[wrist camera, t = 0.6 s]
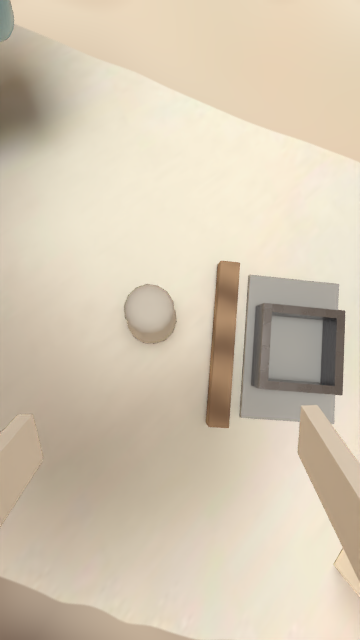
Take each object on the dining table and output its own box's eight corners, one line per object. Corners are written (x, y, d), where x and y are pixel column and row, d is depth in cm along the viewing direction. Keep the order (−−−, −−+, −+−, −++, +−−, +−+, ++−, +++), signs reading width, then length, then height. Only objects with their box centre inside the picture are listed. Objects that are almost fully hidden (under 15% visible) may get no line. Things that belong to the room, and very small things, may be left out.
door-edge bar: (217, 265, 38) (220, 260, 36) (235, 267, 38) (240, 262, 36) (205, 422, 36) (208, 426, 34) (224, 423, 36) (228, 428, 34)
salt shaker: (166, 291, 37) (171, 263, 24) (181, 334, 37) (194, 328, 24) (122, 306, 37) (103, 285, 24) (137, 349, 36) (126, 352, 23)
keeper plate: (248, 275, 38) (258, 268, 35) (336, 285, 39) (354, 279, 36) (239, 416, 37) (248, 424, 33) (331, 422, 38) (349, 430, 34)
